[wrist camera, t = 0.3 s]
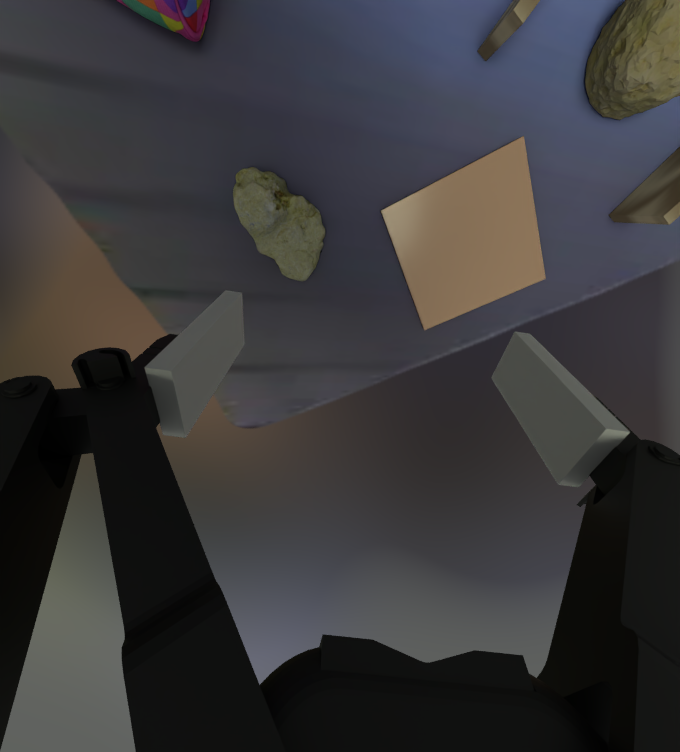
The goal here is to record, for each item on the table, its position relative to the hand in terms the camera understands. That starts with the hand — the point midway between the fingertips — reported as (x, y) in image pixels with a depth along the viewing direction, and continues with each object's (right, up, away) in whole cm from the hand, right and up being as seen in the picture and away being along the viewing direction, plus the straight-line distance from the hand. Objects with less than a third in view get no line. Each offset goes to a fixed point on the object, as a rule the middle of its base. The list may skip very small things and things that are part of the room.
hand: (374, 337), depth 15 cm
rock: (-9, +16, +22) cm, 29 cm away
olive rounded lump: (+26, +29, +15) cm, 42 cm away
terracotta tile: (+14, +14, +23) cm, 30 cm away
